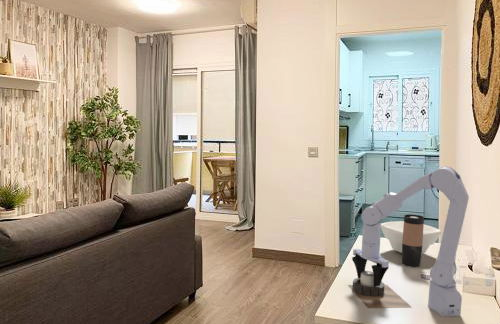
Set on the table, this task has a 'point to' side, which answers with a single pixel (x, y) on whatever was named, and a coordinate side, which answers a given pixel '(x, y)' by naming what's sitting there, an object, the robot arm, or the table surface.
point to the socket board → (378, 296)
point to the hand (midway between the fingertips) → (368, 281)
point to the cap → (367, 279)
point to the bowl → (395, 235)
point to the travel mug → (412, 240)
